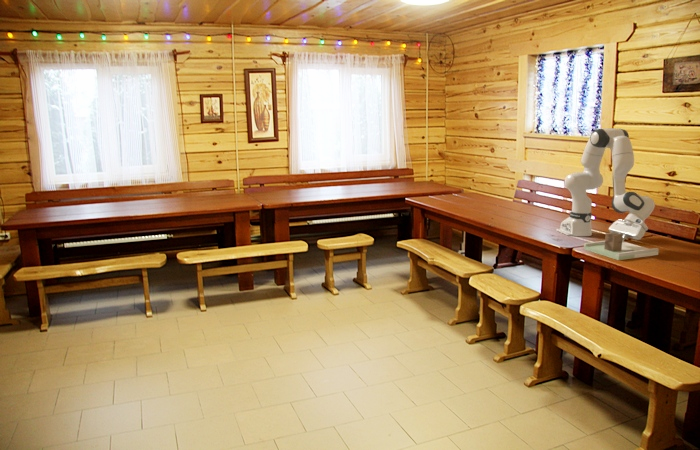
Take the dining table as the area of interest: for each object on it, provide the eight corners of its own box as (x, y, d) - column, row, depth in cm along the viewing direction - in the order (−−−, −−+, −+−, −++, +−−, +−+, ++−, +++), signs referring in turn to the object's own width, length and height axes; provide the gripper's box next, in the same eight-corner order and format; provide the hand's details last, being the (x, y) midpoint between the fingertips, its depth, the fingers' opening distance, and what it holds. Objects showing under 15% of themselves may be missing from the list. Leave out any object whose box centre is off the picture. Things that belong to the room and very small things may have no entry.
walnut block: (604, 249, 318) (605, 233, 316) (612, 248, 320) (614, 232, 318) (612, 251, 313) (614, 235, 311) (621, 250, 315) (622, 234, 313)
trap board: (583, 249, 326) (584, 243, 325) (621, 244, 336) (622, 238, 335) (618, 260, 303) (618, 253, 303) (658, 254, 313) (658, 248, 313)
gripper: (615, 215, 327) (600, 233, 326) (645, 222, 308) (629, 241, 307) (620, 222, 330) (606, 240, 328) (650, 229, 311) (635, 248, 310)
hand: (617, 241), depth 317 cm, fingers closed
